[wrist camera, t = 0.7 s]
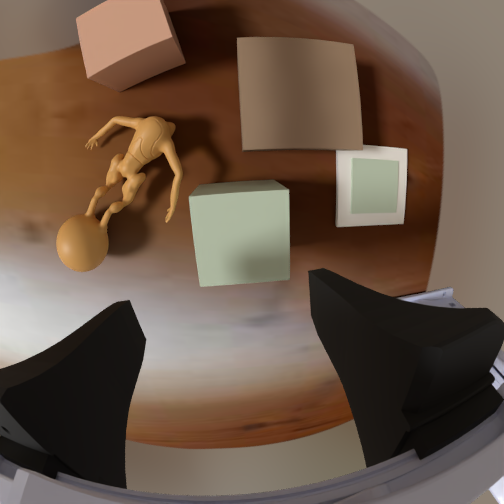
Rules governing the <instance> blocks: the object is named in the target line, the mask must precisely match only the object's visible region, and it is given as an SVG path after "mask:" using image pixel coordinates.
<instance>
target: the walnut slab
mask: <svg viewBox="0 0 504 504" xmlns="http://www.w3.org/2000/svg"><path fill="white" fill-rule="evenodd" d="M237 61H238V80H239V98H240V116H241V134H242V152H245V151H266V150H340V151H351V150H363V135H362V117H361V104H360V93H359V83H358V74H357V67H356V59H355V52H354V46H353V45H352V44H346V43H340V42H332V41H324V40H315V39H303V38H286V37H242V38H237Z"/></svg>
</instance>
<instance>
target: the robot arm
mask: <svg viewBox="0 0 504 504" xmlns="http://www.w3.org/2000/svg"><path fill="white" fill-rule="evenodd" d="M308 273H309V288H310V305H311V316H312V319H313V322H314V325H315V328H316V331H317V334H318V336H319V338H320V340H321V342H322V344H323V346H324V348H325V350H326V352H327V354H328V356H329V358H330V360H331V362H332V364H333V366H334V367H335V369H336V371H337V373H338V375H339V378H340V380H341V382H342V384H343V387H344V390H345V393H346V396H347V399H348V402H349V405H350V408H351V411H352V414H353V417H354V420H355V424H356V427H357V431H358V434H359V438H360V442H361V445H362V449H363V453H364V458H365V462H366V467H367V468H365V469H363V470H359V471H357V472H353V473H351V474H347V475H344V476H340V477H337V478H333V479H330V480H326V481H322V482H318V483H313V484H309V485H304V486H300V487H294V488H288V489H283V490H277V491H269V492H262V493H252V494H241V495H221V496H188V495H170V494H159V493H149V492H142V491H134V490H128V489H127V486H126V474H125V440H126V427H127V419H128V412H129V407H130V402H131V399H132V395H133V392H134V388H135V385H136V382H137V378H138V375H139V372H140V369H141V365H142V362H143V357H144V351H145V344H146V338H145V336H144V334H143V331H142V329H141V327H140V324H139V322H138V320H137V317H136V315H135V312H134V310H133V307H132V305H131V302H130V300H127V301H119V302H116V303H114V304H112V305H110V306H109V307H107V308H106V309H104V310H103V311H101V312H100V313H99V314H97V315H96V316H95V317H93V318H92V319H91V320H89V321H88V322H87V323H85V324H84V325H83V326H81V327H80V328H78V329H77V330H76V331H74V332H73V333H71V334H70V335H69V336H67V337H66V338H64V339H63V340H61V341H60V342H58V343H57V344H55V345H53V346H51V347H50V348H48V349H46V350H45V351H43V352H41V353H39V354H37V355H34V356H32V357H30V358H28V359H26V360H24V361H22V362H19V363H17V364H14V365H11V366H8V367H5V368H2V369H0V504H470V503H472V502H473V501H474V500H475V499H477V498H478V497H479V496H480V495H482V494H483V493H484V492H486V491H487V490H488V489H489V490H490V492H491V493H492V494H493V496H494V497H495V499H496V500H497V502H498V503H499V504H504V352H503V351H502V350H501V346H502V344H503V341H504V322H503V321H502V320H501V319H500V318H498V317H497V316H496V315H495V314H494V313H493V312H491V311H490V310H489V309H488V308H464V307H463V306H462V305H461V304H460V303H459V302H458V301H456V300H455V299H454V298H453V297H452V295H453V288H452V287H447V288H443V289H438V290H434V291H430V292H424V293H419V294H414V295H409V296H404V297H399V298H394V297H391V296H387V295H384V294H382V293H379V292H376V291H374V290H371V289H369V288H366V287H364V286H362V285H359V284H357V283H355V282H353V281H351V280H348V279H346V278H344V277H342V276H340V275H338V274H336V273H334V272H332V271H330V270H327V269H325V268H321V269H316V270H311V271H308Z"/></svg>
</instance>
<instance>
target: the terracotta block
mask: <svg viewBox="0 0 504 504" xmlns="http://www.w3.org/2000/svg"><path fill="white" fill-rule="evenodd" d="M76 21H77V27H78V33H79V39H80V45H81V50H82V55H83V59H84V64H85V69H86V73H87V77H88V79H91V80H93V81H95V82H98V83H100V84H102V85H105V86H107V87H109V88H111V89H113V90H116V91H118V92H121V91H123V90H125V89H127V88H129V87H131V86H133V85H135V84H138V83H140V82H142V81H144V80H146V79H148V78H151V77H153V76H155V75H158V74H160V73H162V72H165V71H167V70H170V69H172V68H175V67H177V66H180V65H183V64H185V63H186V62H185V59H184V56H183V53H182V50H181V47H180V44H179V42H178V39H177V36H176V33H175V30H174V27H173V24H172V21H171V19H170V16H169V13H168V11H167V8H166V6H165V4H164V2H163V0H108V1H106V2H104V3H102V4H100V5H98V6H96V7H95V8H93V9H91V10H89V11H88V12H86V13H84V14H83V15H81V16H79V17H78V18H76Z"/></svg>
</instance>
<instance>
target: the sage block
mask: <svg viewBox="0 0 504 504" xmlns="http://www.w3.org/2000/svg"><path fill="white" fill-rule="evenodd" d="M189 203H190V212H191V221H192V230H193V238H194V246H195V254H196V261H197V269H198V276H199V282H200V287H203V286H217V285H231V284H244V283H256V282H268V281H279V280H290V216H289V189H287V188H286V187H284V186H283V185H281V184H280V183H278V182H277V181H275V180H255V181H238V182H225V183H213V184H201V185H199V186H198V187H197V188H196V189H195V190H194V191H193V192H192V194H191V195H190V196H189Z"/></svg>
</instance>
